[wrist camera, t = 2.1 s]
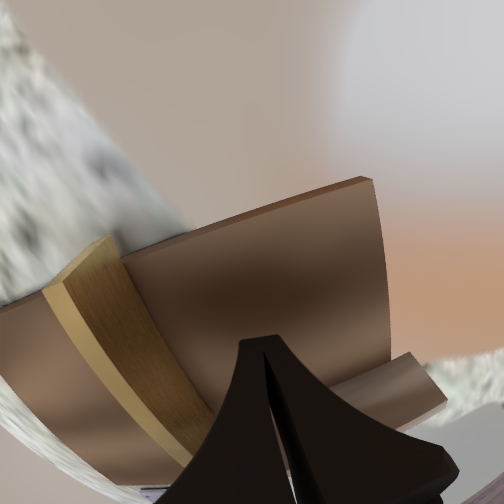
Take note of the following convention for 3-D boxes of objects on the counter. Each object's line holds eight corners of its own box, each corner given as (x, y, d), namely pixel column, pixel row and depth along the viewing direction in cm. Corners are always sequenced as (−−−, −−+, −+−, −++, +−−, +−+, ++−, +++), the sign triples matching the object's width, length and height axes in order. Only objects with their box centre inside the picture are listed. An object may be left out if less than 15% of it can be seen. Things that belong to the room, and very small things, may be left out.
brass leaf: (236, 433, 14) (243, 490, 10) (206, 439, 14) (208, 495, 10) (121, 230, 9) (76, 275, 6) (82, 247, 9) (30, 295, 6)
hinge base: (397, 409, 17) (426, 458, 12) (118, 476, 17) (111, 522, 12) (384, 169, 11) (470, 190, 6) (-23, 319, 11) (-66, 367, 6)
